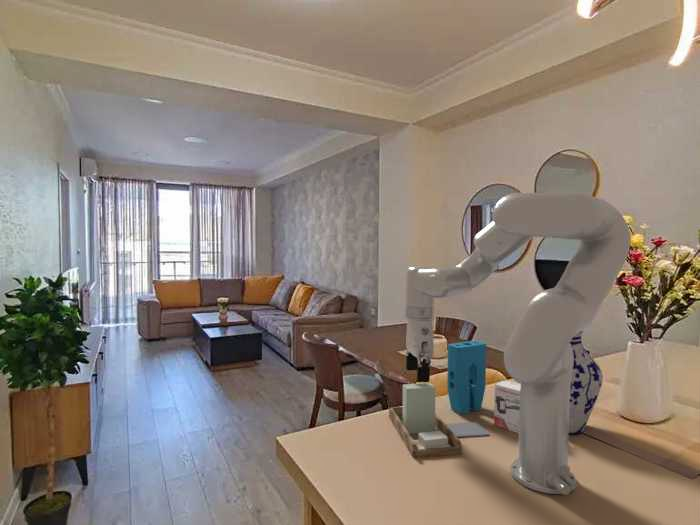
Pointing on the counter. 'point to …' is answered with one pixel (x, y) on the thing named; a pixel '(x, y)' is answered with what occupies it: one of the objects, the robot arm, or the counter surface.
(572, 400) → the vase
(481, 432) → the felt mat
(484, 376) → the block
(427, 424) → the sage green box
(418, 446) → the offcut low
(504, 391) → the ink box
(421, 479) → the counter surface
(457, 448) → the tray
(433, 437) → the offcut top
